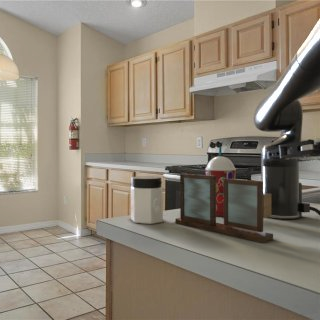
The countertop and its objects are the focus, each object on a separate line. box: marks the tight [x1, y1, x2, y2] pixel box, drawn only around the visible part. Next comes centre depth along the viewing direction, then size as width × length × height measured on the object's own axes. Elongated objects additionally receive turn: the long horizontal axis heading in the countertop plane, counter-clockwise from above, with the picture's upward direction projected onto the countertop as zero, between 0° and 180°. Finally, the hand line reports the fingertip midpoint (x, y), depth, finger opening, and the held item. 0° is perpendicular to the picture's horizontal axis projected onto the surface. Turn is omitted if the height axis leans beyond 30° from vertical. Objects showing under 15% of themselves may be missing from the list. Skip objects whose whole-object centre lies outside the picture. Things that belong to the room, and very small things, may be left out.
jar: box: [130, 175, 164, 225], centre depth 91 cm, size 9×8×12 cm
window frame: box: [175, 173, 274, 244], centre depth 79 cm, size 23×4×13 cm, turn 33°
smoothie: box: [204, 146, 237, 217], centre depth 97 cm, size 8×8×20 cm
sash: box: [223, 178, 271, 232], centre depth 76 cm, size 9×4×11 cm, turn 33°
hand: (282, 156), depth 68 cm, fingers open, 8 cm apart
